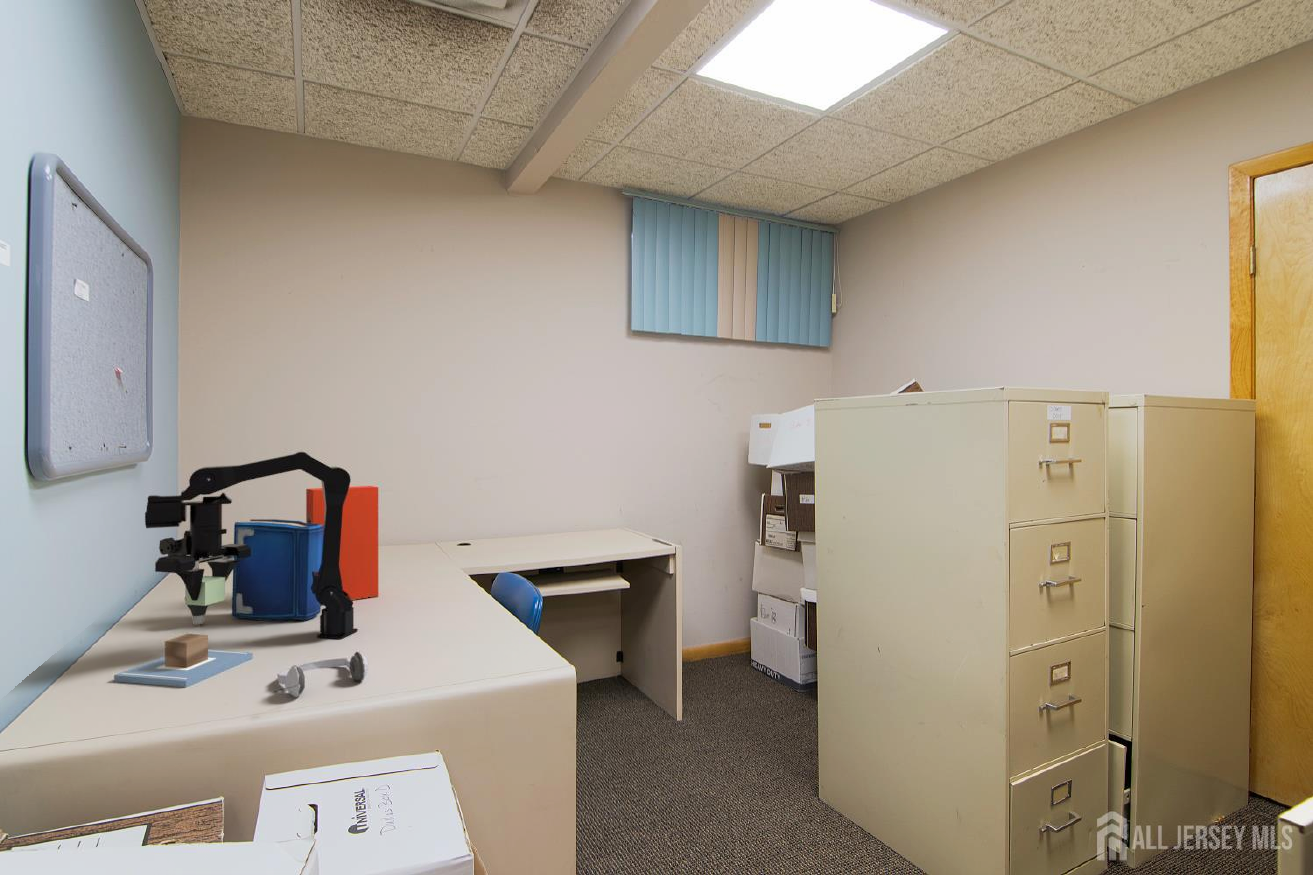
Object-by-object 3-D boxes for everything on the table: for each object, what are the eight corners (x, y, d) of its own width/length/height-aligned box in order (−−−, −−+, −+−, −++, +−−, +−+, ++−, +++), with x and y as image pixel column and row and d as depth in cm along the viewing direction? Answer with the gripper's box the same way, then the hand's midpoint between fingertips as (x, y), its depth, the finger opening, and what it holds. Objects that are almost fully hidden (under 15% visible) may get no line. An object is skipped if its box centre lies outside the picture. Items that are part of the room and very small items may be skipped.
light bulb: (180, 629, 158) (180, 588, 158) (190, 623, 163) (190, 583, 163) (207, 628, 159) (207, 587, 159) (216, 621, 165) (216, 582, 165)
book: (326, 615, 171) (326, 519, 171) (309, 622, 164) (310, 523, 164) (249, 612, 173) (249, 518, 173) (229, 619, 166) (230, 521, 166)
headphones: (382, 683, 122) (347, 672, 137) (380, 652, 123) (345, 644, 138) (278, 710, 111) (251, 694, 125) (276, 675, 111) (250, 664, 126)
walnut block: (208, 659, 134) (208, 634, 134) (186, 667, 129) (186, 642, 129) (186, 657, 135) (187, 633, 135) (164, 666, 130) (164, 641, 130)
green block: (225, 599, 143) (225, 577, 143) (205, 605, 138) (205, 582, 138) (205, 598, 144) (206, 575, 144) (185, 604, 139) (185, 580, 139)
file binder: (306, 600, 185) (306, 488, 185) (369, 591, 196) (369, 485, 196) (313, 606, 179) (313, 490, 179) (378, 596, 190) (378, 487, 190)
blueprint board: (252, 658, 138) (252, 652, 138) (186, 687, 123) (186, 680, 123) (187, 653, 141) (187, 647, 141) (114, 681, 125) (114, 674, 125)
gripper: (211, 518, 152) (211, 585, 152) (133, 529, 134) (132, 606, 134) (252, 520, 150) (252, 588, 150) (178, 532, 131) (178, 609, 131)
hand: (205, 597), depth 141 cm, fingers closed on green block, 5 cm apart
